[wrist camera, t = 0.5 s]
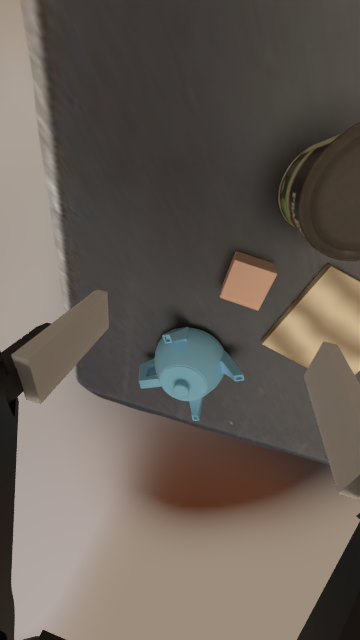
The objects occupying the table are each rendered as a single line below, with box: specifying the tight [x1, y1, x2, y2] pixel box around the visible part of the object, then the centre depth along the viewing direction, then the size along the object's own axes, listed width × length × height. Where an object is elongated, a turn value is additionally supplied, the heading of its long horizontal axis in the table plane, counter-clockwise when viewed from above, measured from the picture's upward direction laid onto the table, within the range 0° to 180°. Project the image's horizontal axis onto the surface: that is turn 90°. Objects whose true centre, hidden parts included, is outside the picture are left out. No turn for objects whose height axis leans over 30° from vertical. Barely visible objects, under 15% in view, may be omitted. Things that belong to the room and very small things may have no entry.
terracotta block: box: [220, 251, 277, 311], centre depth 36 cm, size 6×6×5 cm
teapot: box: [139, 327, 244, 421], centre depth 44 cm, size 15×15×11 cm
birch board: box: [262, 263, 360, 375], centre depth 38 cm, size 16×16×2 cm
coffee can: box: [278, 122, 360, 261], centre depth 24 cm, size 10×10×14 cm
